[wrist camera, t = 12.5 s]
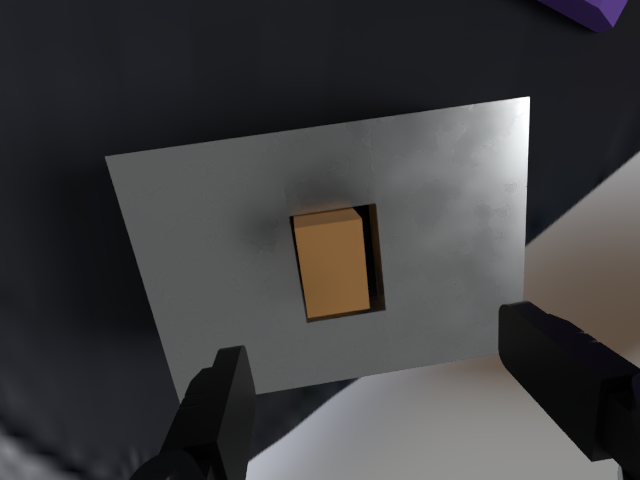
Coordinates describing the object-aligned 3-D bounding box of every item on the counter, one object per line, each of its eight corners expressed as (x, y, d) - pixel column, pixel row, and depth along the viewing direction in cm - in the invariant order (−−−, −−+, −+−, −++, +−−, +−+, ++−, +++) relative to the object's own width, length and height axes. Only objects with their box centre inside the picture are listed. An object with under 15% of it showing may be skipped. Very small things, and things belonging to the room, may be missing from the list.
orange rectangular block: (333, 184, 25) (361, 218, 15) (339, 243, 26) (369, 308, 17) (291, 190, 25) (294, 228, 15) (300, 249, 26) (308, 318, 17)
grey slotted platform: (454, 110, 24) (530, 96, 16) (458, 292, 28) (521, 349, 20) (166, 151, 23) (104, 156, 16) (212, 332, 27) (181, 407, 20)
